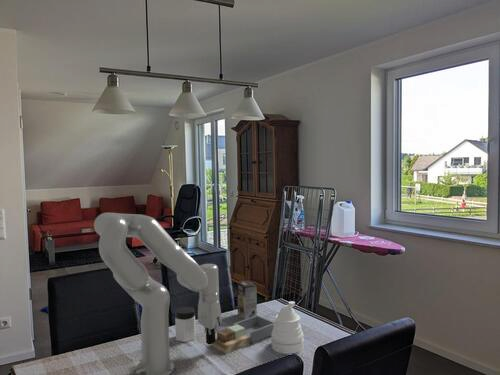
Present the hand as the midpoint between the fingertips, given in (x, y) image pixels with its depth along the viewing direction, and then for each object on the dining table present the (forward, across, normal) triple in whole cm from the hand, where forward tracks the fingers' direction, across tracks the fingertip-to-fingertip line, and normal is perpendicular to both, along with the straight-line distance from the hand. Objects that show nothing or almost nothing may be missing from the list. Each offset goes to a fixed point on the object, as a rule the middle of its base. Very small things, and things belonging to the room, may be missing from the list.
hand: (210, 342), depth 153 cm
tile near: (+1, 0, +7) cm, 7 cm away
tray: (+4, 0, +23) cm, 23 cm away
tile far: (+1, 0, +13) cm, 13 cm away
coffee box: (+4, -18, +34) cm, 38 cm away
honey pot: (+4, +17, +25) cm, 31 cm away
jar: (+4, -18, 0) cm, 18 cm away
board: (+4, 0, +10) cm, 10 cm away
